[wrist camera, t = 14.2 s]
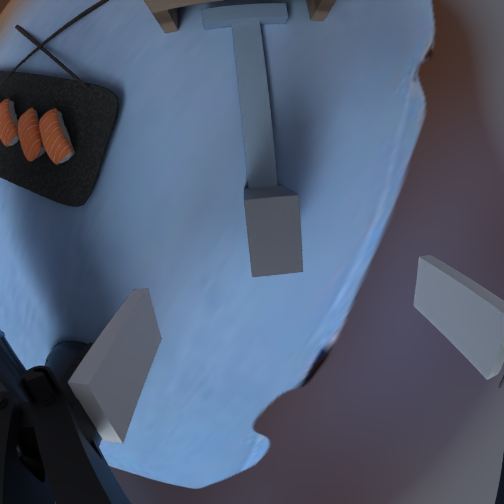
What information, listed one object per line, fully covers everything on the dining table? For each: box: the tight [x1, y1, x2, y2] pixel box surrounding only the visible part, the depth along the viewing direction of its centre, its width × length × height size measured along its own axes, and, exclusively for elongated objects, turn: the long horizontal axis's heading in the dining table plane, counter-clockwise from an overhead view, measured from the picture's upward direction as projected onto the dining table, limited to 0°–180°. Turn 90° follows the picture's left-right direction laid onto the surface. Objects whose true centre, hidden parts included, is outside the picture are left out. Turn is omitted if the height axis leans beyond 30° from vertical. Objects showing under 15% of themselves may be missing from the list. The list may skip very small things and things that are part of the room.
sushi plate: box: [0, 0, 119, 207], centre depth 23 cm, size 29×30×4 cm
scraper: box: [202, 3, 303, 277], centre depth 24 cm, size 27×9×10 cm, turn 6°
